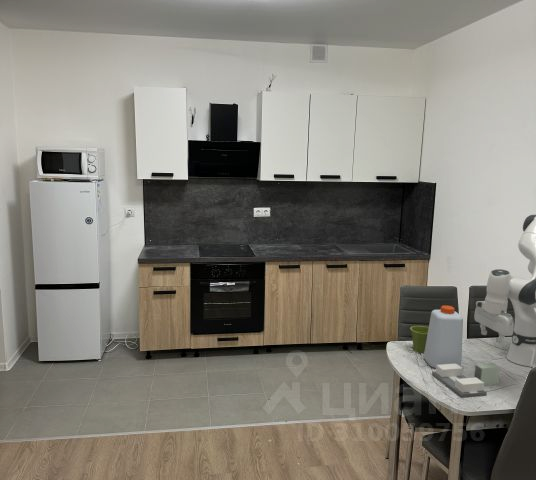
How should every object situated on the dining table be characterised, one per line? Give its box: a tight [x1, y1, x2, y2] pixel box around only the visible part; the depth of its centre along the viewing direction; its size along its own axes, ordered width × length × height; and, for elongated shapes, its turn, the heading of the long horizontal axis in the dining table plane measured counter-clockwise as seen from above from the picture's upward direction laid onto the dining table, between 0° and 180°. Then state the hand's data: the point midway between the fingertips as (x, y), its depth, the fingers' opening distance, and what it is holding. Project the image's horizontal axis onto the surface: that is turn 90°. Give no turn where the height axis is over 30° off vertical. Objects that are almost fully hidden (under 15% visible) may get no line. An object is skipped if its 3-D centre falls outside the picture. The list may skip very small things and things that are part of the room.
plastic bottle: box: [423, 305, 464, 369], centre depth 224 cm, size 15×15×28 cm
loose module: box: [473, 362, 501, 386], centre depth 208 cm, size 9×4×8 cm, turn 104°
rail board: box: [431, 364, 488, 399], centre depth 204 cm, size 12×21×5 cm, turn 14°
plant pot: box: [409, 325, 429, 354], centre depth 240 cm, size 12×12×11 cm
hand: (491, 338), depth 205 cm, fingers open, 8 cm apart
